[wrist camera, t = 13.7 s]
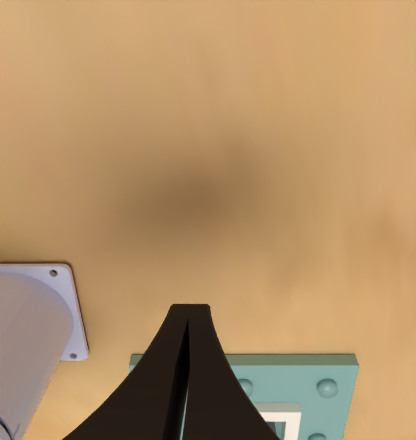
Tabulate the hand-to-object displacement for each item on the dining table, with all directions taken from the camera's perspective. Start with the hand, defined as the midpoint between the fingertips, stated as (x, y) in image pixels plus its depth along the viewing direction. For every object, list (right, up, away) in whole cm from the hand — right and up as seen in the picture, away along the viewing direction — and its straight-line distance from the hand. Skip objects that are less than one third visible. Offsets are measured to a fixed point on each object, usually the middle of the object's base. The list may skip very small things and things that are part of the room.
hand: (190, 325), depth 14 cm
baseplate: (+3, -13, +17) cm, 22 cm away
